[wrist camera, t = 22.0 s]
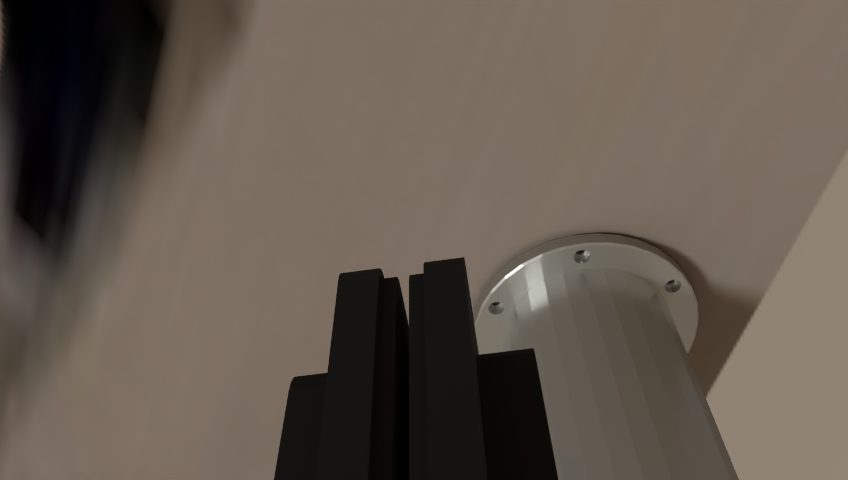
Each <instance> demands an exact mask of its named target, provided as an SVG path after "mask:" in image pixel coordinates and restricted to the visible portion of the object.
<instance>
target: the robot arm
mask: <svg viewBox="0 0 848 480" xmlns="http://www.w3.org/2000/svg"><path fill="white" fill-rule="evenodd" d="M698 324H699V311H698V302H697V300H696V297H695V294H694V291H693V288H692V286H691V284H690V283H689V281H688V279H687V277H686V275H685V273H684V271H683V270H682V269H681V268H680V267H679V266H678V265H677V263H676V262H675V261H674V260H673V259H672V258H671V257H669V256H668V255H666V254H665V253H664V252H662V251H661V250H659V249H658V248H656V247H654V246H652V245H649V244H647V243H645V242H643V241H640V240H638V239H633V238H629V237H625V236H621V235H613V234H598V233H594V234H583V235H573V236H569V237H564V238H560V239H556V240H552V241H549V242H547V243H544V244H542V245H540V246H537V247H535V248H532V249H530V250H528V251H527V252H525V253H523V254H522V255H520V256H519V257H517V258H515V259H514V260H512V261H511V262H510V263H508V264H507V265H506V266H505V267H504V268H503V269H502V270H501V271H499V272H498V273H497V274H496V275H495V276H494V278H493V279H492V280H491V282H490V283H489V284H488V286H487V287H486V288H485V289H484V291H483V293H482V295H481V297H480V299H479V301H478V304H477V306H476V310H475V314H474V318H473V312H472V305H471V298H470V292H469V285H468V279H467V272H466V266H465V260H464V257H463V258H455V259H448V260H440V261H432V262H425V263H424V274H416V275H410V276H409V325H408V320H407V315H406V311H405V306H404V301H403V297H402V292H401V287H400V283H399V280H398V277H393V278H385V279H384V275H383V272H382V270H381V269H380V268H378V269H371V270H363V271H355V272H348V273H341V274H340V275H339V279H338V287H337V296H336V305H335V313H334V322H333V330H332V339H331V347H330V356H329V365H328V373H323V374H315V375H306V376H298V377H294V378H293V380H292V381H291V385H290V389H289V393H288V399H287V405H286V411H285V417H284V423H283V429H282V435H281V441H280V447H279V453H278V459H277V465H276V471H275V477H274V480H739V479H738V477H737V475H736V472H735V469H734V467H733V464H732V462H731V459H730V457H729V454H728V452H727V450H726V447H725V445H724V442H723V440H722V437H721V435H720V433H719V430H718V428H717V425H716V423H715V420H714V418H713V415H712V413H711V411H710V408H709V406H708V403H707V401H706V398H705V396H704V393H703V391H702V388H701V386H700V383H699V381H698V379H697V376H696V374H695V371H694V369H693V366H692V364H691V361H690V359H689V356H688V353H689V352H690V350H691V347H692V345H693V343H694V340H695V338H696V335H697V329H698Z"/></svg>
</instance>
